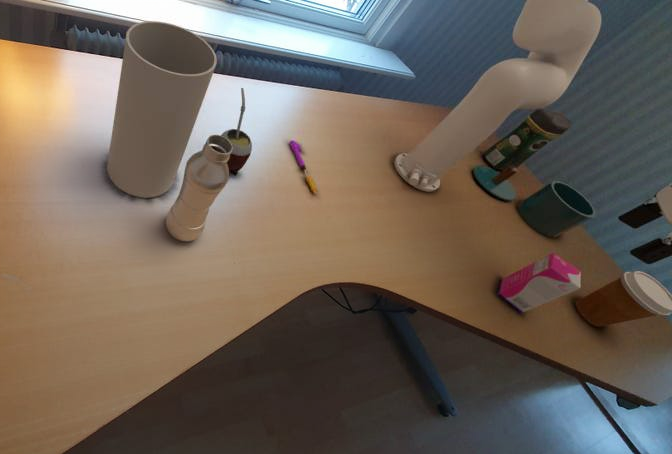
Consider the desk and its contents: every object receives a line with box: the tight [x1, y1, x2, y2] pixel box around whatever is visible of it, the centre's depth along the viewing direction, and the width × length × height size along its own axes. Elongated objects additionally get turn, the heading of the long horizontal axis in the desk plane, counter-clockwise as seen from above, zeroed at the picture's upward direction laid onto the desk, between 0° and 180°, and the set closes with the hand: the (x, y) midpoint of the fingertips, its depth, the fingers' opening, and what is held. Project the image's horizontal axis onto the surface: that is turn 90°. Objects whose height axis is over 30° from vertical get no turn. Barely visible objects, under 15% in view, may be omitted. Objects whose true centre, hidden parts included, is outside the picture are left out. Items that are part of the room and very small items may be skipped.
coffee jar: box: [483, 108, 572, 172], centre depth 106 cm, size 10×8×19 cm
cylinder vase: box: [106, 20, 218, 199], centre depth 59 cm, size 12×12×25 cm
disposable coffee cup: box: [575, 270, 672, 328], centre depth 78 cm, size 10×10×12 cm
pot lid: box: [472, 165, 519, 202], centre depth 102 cm, size 13×13×7 cm
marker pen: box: [289, 140, 318, 195], centre depth 84 cm, size 3×1×16 cm
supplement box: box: [496, 252, 582, 314], centre depth 74 cm, size 6×6×12 cm
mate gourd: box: [220, 87, 253, 177], centre depth 71 cm, size 8×8×15 cm
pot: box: [517, 180, 597, 238], centre depth 97 cm, size 12×12×9 cm
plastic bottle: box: [165, 134, 233, 242], centre depth 56 cm, size 6×7×20 cm
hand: (631, 239), depth 62 cm, fingers open, 9 cm apart
